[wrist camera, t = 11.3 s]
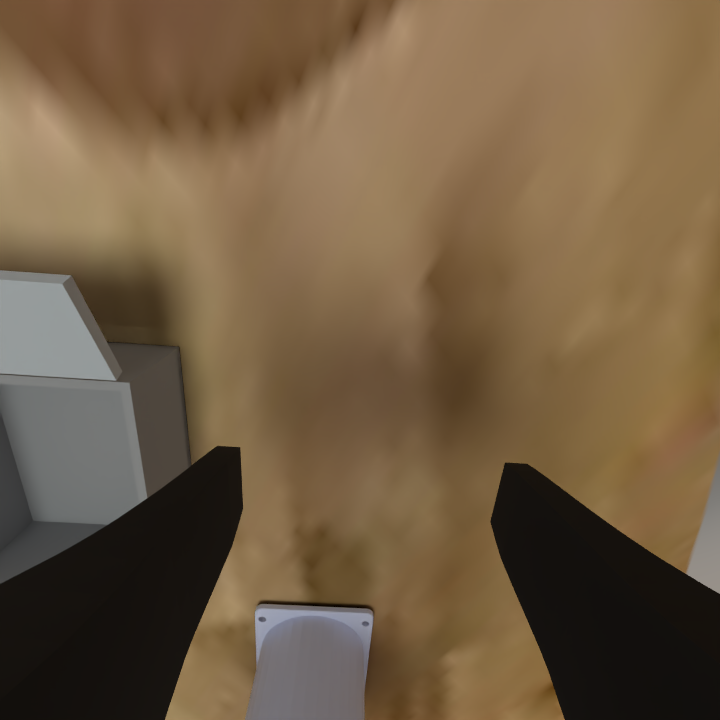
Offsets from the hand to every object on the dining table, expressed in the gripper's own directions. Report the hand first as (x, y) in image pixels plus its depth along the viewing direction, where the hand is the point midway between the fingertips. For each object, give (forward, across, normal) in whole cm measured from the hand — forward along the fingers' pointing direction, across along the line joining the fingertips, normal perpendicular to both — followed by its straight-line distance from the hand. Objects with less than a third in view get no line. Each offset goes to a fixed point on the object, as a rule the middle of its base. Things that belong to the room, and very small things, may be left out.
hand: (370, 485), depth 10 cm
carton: (+10, +14, +6) cm, 19 cm away
